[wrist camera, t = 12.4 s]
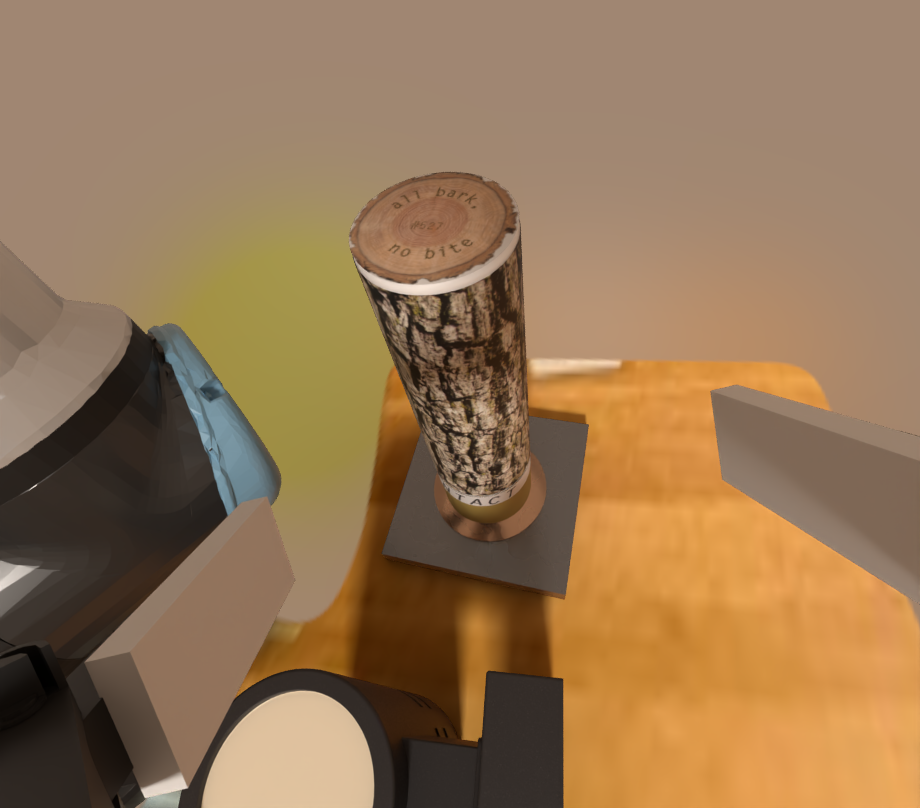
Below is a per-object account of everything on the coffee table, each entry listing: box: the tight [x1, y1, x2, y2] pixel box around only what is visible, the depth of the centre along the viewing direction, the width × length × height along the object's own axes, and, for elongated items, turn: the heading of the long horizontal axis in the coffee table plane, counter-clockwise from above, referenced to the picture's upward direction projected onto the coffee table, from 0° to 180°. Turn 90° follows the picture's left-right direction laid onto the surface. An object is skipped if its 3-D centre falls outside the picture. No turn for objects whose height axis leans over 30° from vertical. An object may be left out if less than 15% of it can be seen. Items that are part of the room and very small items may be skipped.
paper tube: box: [349, 172, 531, 523], centre depth 30 cm, size 7×7×25 cm
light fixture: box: [178, 669, 563, 808], centre depth 25 cm, size 10×14×18 cm
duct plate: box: [382, 416, 589, 599], centre depth 41 cm, size 14×14×2 cm
